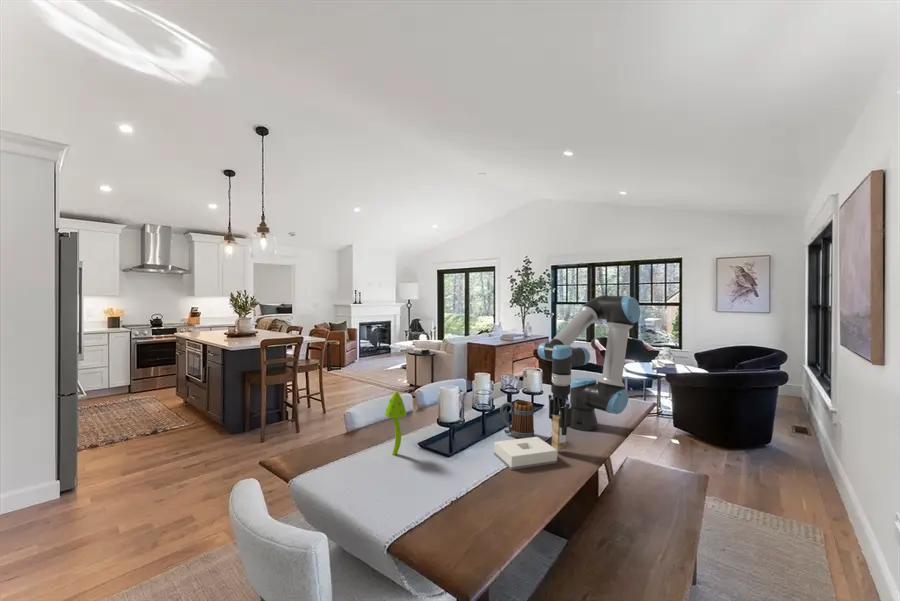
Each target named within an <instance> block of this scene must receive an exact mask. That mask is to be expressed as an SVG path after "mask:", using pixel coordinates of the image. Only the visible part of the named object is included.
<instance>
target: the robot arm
mask: <svg viewBox="0 0 900 601" xmlns="http://www.w3.org/2000/svg"><path fill="white" fill-rule="evenodd" d="M640 318H641V307H640V303H639V302H638V300H637V299H636V298H634V297H633V296H632V297H631V296H625V295H624V296H622V295H606V294H603V295H599V296H596V297H594V298H592V299H590V300H589V301H587V302H586V303H585V304H584V305H582V306H581V307H580V308H579V310H578V313H577V314H576V315H575V316H574V317H573V318H572V319H571V321H569V322H568V323H567V324H566V325H565V326H564V327H563V328H562V329H561V330H560V331H559V332H558V333H557V334H556V335H555V336H554V337H553V338H552V339H551V340H550V341H549V342H541V343H540V344H539V345H538V348H537V354H538V357H539V358H540V359H542V360H545V361H549V362H552V364H551V366H552V367H551V382H552V383H551V385H550V387H551V390H550V392H551V393H552V394H549V395H548V418H549V419H550V420H551V423H552V422H553V415H558V414H560V419H561V426H560V431H559V442H560V443H563V442H566V443H567V432H568V431H567V430H568V428H571V429H574V430H579V431H586V432H587V431H594V430H597V429H598V428H599V427H598V426H599V425H598V424H599V423H598V420H597V415H596V412H595V411H596V410H599V411H603V412H606V413H608V414H613V415H619V414H621V413H623V412H624V410H625V409H626V408H627V406H628V403H629V398H630V396H629V392H628V391H627V390H626V389H625V384H624V382H623V375H624V367H625V361H626V353H627V348H628V347H627V345H628V340H629V331H630V329H632V328H633V327H634V323H638V322H639V320H640ZM599 320H606V321H605V322H606V325H607V326H608V333H607V340H606V348H605V353H604V361H603V368H602V374H601V378H599V379H598V380H597V379H595V378H591V377H578V378H577V377H576V378H573V379H572V368H576V367H582V366H585V365H587V364H589V361H590V360H591V354H590V352H589V350H588V349H587V348H586V347H580V346H579V347H572V346H571V345H572V344H574V342H575V341H576V340H577V339H578V338H579V337H580V336H581V335H582V334H583V333H584V332H585V331H586V330H587V329H588V327H590V325H592V324H595V323H596V322H598V321H599ZM569 397H570V398H569ZM595 409H596V410H595Z"/></svg>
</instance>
